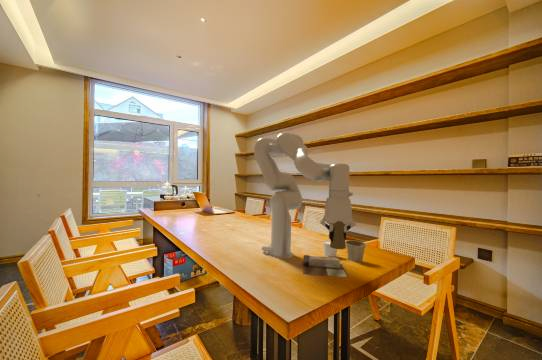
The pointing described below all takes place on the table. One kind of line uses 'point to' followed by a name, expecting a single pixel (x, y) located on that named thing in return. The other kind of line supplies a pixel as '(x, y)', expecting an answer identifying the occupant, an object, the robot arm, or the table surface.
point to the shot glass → (329, 249)
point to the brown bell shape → (338, 236)
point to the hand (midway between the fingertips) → (337, 241)
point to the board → (325, 270)
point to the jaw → (321, 262)
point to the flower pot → (355, 250)
